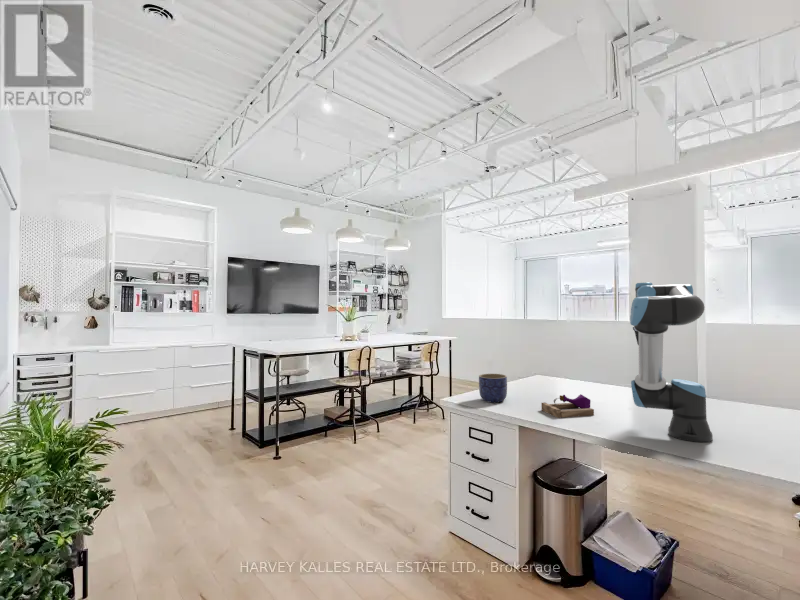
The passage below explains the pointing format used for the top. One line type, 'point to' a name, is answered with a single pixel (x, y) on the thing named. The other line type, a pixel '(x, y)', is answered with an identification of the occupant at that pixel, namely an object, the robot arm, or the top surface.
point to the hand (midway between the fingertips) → (646, 359)
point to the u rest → (566, 410)
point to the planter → (493, 387)
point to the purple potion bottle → (576, 401)
